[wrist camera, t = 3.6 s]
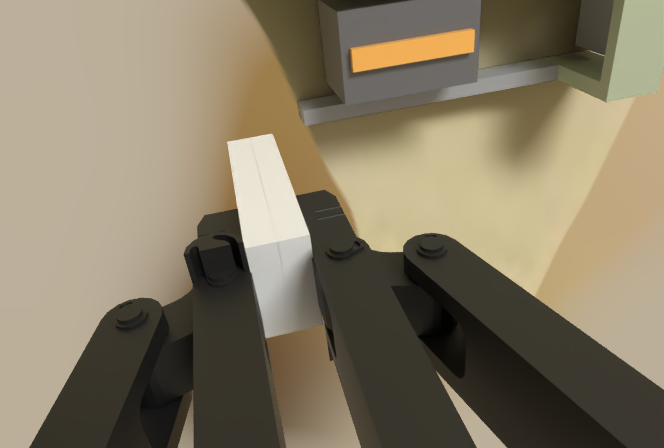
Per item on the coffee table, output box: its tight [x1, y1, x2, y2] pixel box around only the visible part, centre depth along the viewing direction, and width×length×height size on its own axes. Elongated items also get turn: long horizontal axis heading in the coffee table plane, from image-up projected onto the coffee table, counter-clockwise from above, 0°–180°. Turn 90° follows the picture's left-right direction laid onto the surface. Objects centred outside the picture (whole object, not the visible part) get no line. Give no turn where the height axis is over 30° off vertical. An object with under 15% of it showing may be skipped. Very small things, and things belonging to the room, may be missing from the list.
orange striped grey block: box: [317, 0, 481, 106], centre depth 31 cm, size 8×5×5 cm, turn 96°
